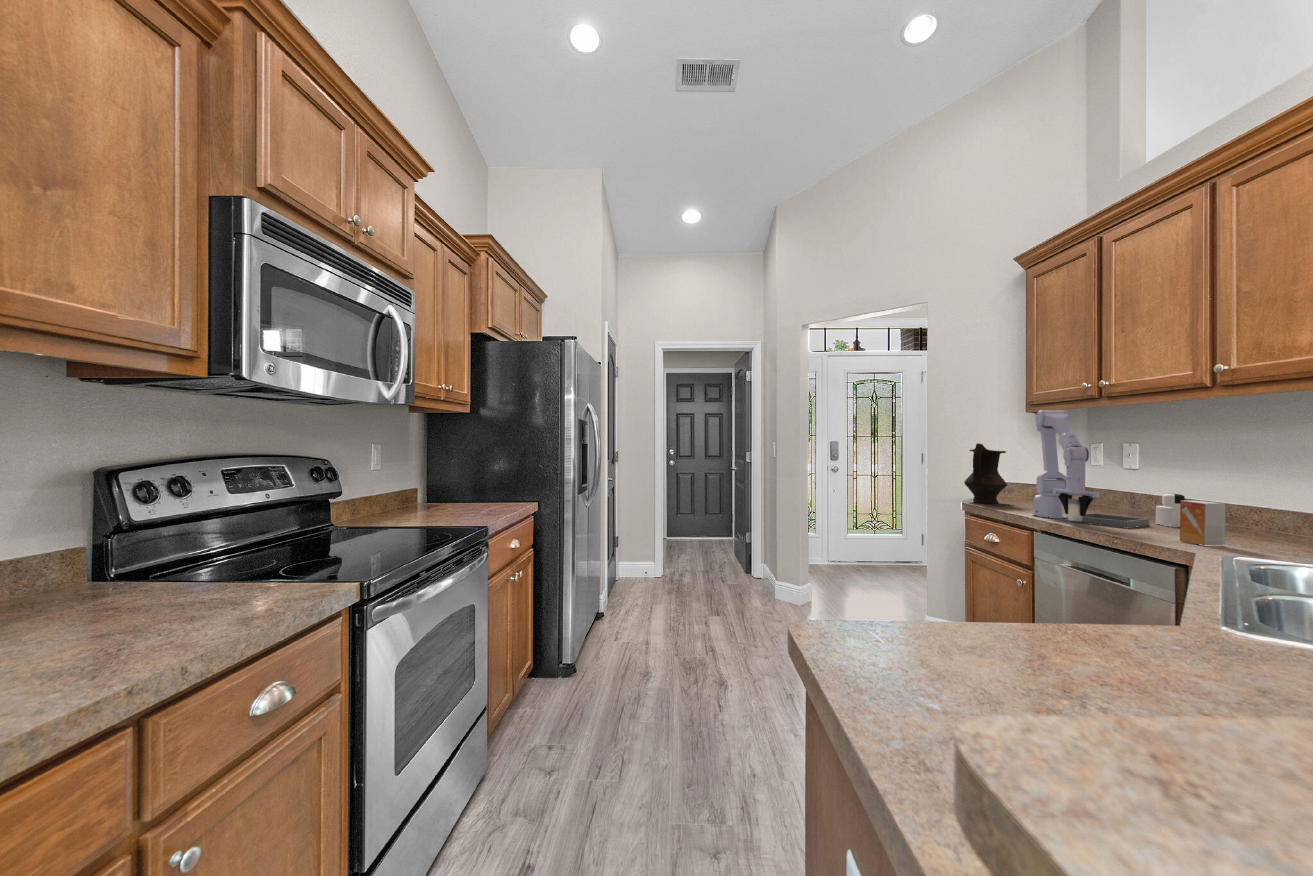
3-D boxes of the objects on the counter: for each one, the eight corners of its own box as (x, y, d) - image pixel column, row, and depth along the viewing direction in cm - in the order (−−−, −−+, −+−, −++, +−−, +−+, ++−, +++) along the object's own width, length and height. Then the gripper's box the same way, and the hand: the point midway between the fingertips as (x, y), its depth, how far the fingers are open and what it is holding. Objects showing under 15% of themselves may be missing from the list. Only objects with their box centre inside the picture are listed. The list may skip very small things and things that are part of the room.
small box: (1179, 541, 172) (1179, 500, 172) (1199, 541, 172) (1199, 500, 172) (1204, 546, 164) (1205, 503, 164) (1226, 546, 164) (1226, 503, 164)
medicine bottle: (1175, 524, 207) (1175, 493, 207) (1192, 527, 200) (1192, 495, 200) (1155, 524, 208) (1155, 492, 208) (1170, 527, 200) (1171, 494, 200)
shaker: (1064, 519, 206) (1065, 498, 206) (1071, 519, 208) (1072, 498, 208) (1078, 521, 202) (1078, 500, 202) (1085, 520, 204) (1085, 499, 204)
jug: (972, 499, 288) (973, 443, 288) (1012, 503, 274) (1013, 443, 274) (955, 502, 274) (956, 443, 274) (996, 506, 260) (997, 443, 260)
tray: (1070, 521, 213) (1070, 515, 213) (1093, 519, 220) (1093, 513, 220) (1126, 528, 197) (1126, 521, 197) (1149, 525, 204) (1149, 519, 204)
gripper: (1048, 477, 210) (1048, 512, 210) (1092, 480, 197) (1091, 518, 197) (1059, 477, 213) (1058, 511, 213) (1102, 479, 200) (1102, 516, 200)
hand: (1075, 514), depth 205 cm, fingers closed on shaker, 4 cm apart
